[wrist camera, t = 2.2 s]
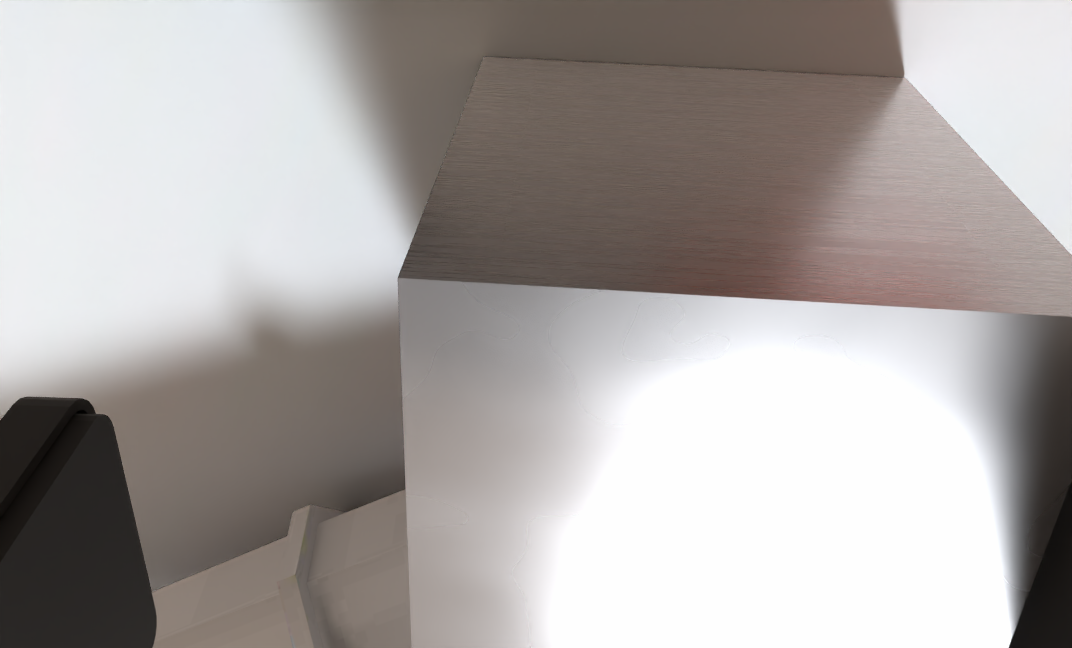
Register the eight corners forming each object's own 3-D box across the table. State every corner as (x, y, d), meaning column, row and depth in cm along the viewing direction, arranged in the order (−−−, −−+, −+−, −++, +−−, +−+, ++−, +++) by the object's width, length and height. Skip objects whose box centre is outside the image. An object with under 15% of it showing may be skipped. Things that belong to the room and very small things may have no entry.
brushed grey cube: (905, 77, 14) (1131, 320, 8) (829, 424, 17) (954, 790, 11) (483, 56, 14) (398, 277, 8) (480, 403, 17) (415, 752, 11)
